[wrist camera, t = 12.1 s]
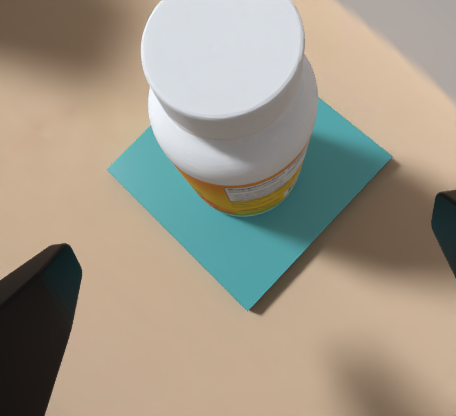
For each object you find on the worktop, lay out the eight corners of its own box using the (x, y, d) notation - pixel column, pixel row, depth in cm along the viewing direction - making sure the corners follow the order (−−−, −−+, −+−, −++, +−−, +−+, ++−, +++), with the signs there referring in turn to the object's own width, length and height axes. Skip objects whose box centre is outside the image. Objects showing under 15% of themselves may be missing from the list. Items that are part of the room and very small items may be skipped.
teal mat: (388, 160, 18) (392, 156, 18) (248, 310, 17) (247, 311, 17) (241, 42, 20) (240, 35, 20) (111, 173, 20) (106, 169, 19)
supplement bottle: (176, 136, 19) (85, -9, 9) (276, 98, 19) (285, -88, 9) (210, 234, 18) (146, 183, 8) (316, 195, 18) (375, 97, 8)
